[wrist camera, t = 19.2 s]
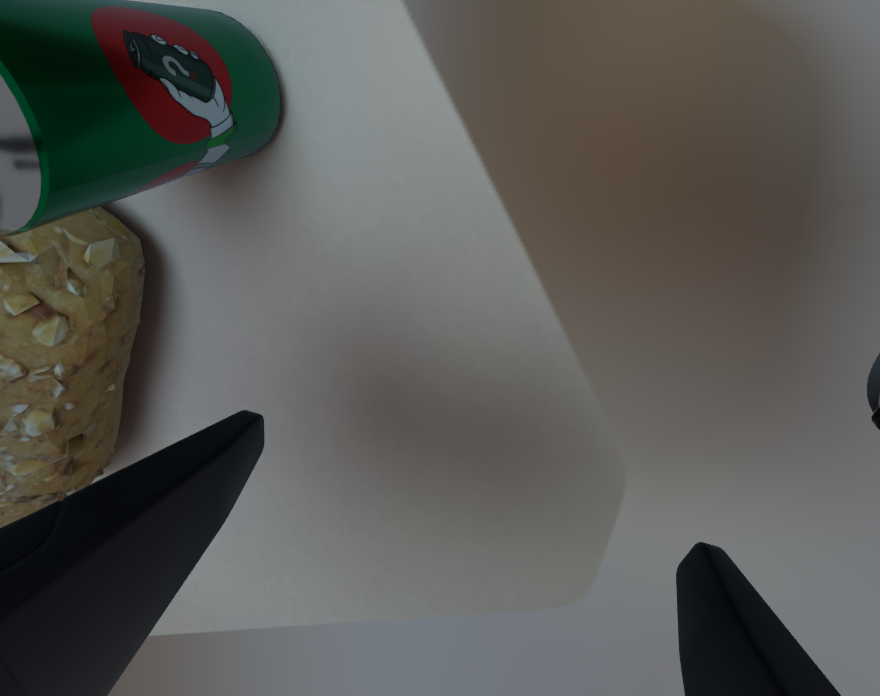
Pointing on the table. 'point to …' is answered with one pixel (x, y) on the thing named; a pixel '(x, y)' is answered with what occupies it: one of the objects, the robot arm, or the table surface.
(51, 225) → the bread
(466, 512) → the table surface
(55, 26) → the soda can
